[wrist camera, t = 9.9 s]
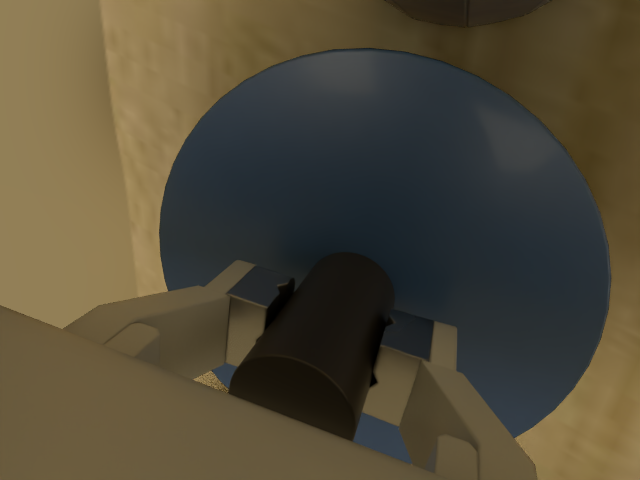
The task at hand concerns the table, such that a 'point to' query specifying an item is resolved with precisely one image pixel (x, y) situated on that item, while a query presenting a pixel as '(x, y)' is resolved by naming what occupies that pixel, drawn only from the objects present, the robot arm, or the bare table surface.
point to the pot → (466, 10)
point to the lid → (391, 234)
